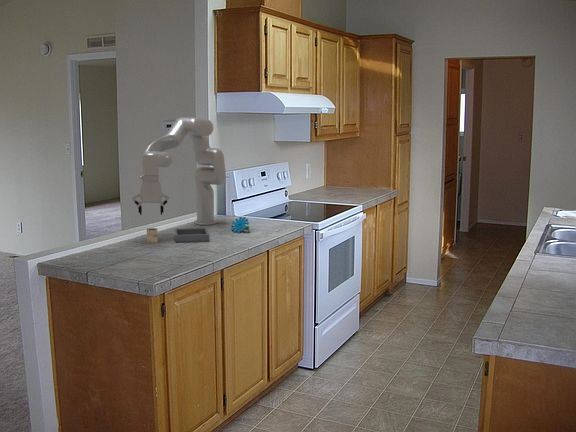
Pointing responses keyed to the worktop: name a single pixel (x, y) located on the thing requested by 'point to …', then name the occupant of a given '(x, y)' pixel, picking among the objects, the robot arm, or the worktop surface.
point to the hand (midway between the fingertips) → (151, 214)
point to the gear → (240, 225)
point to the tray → (191, 235)
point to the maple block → (152, 235)
